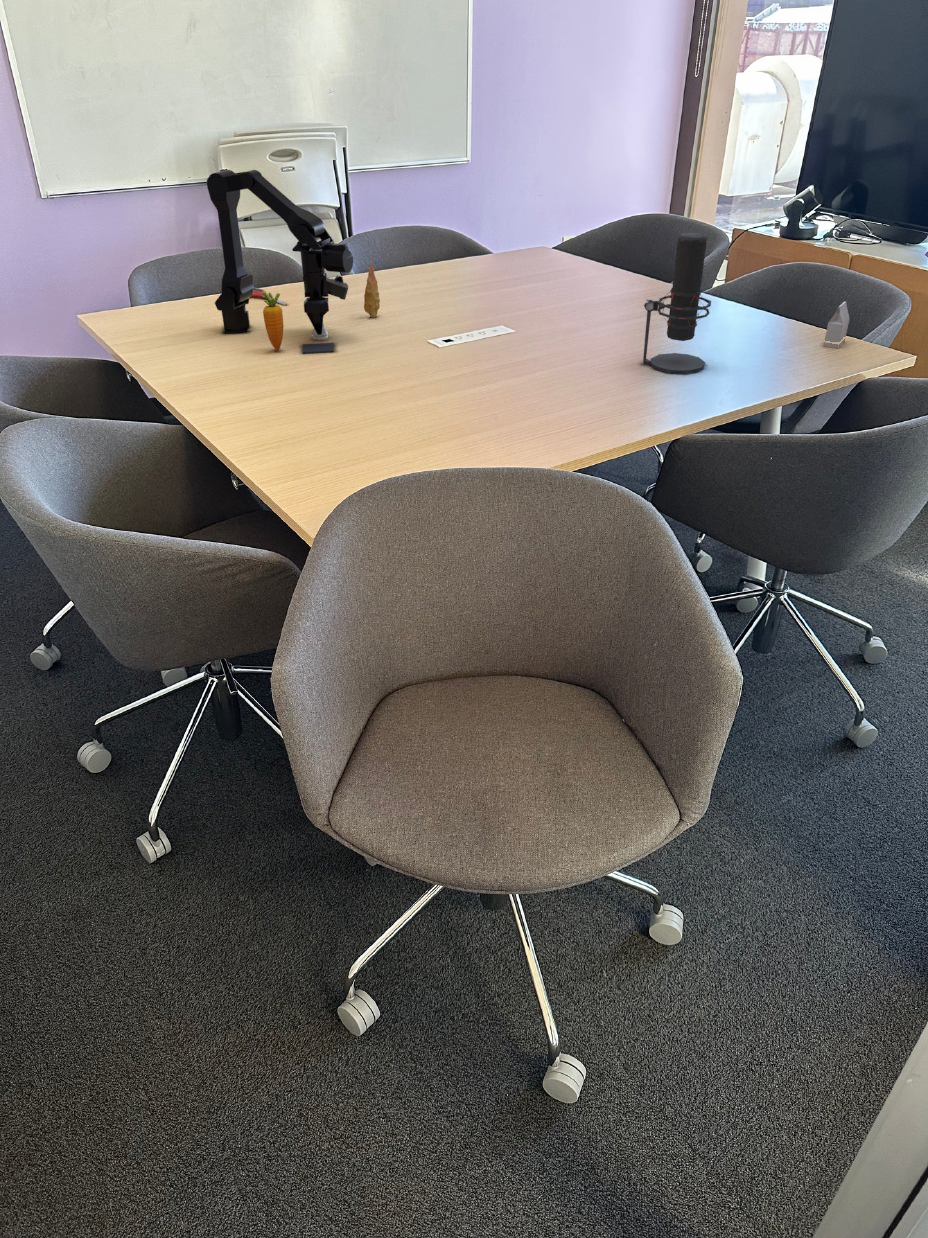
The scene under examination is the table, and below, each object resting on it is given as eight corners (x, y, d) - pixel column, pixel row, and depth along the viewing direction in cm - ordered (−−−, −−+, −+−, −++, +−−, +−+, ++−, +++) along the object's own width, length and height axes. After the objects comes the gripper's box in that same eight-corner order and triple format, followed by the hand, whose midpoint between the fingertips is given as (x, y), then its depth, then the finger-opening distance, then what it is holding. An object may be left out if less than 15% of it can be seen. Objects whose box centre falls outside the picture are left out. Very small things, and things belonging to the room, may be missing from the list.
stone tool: (369, 320, 256) (366, 264, 248) (364, 318, 257) (360, 263, 249) (382, 316, 259) (378, 261, 251) (376, 314, 261) (372, 260, 252)
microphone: (668, 378, 213) (684, 243, 196) (634, 362, 222) (646, 232, 206) (716, 368, 218) (735, 236, 201) (680, 353, 228) (696, 226, 211)
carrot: (290, 348, 235) (283, 289, 226) (281, 354, 231) (274, 294, 222) (273, 347, 236) (266, 287, 228) (264, 352, 232) (256, 292, 224)
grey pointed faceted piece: (844, 341, 235) (853, 302, 229) (838, 348, 230) (846, 308, 224) (830, 339, 236) (838, 300, 231) (823, 346, 232) (831, 306, 226)
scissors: (285, 305, 270) (284, 300, 269) (234, 296, 279) (233, 291, 279) (302, 299, 275) (301, 294, 275) (251, 291, 285) (251, 286, 284)
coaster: (302, 353, 231) (302, 352, 231) (303, 345, 237) (303, 344, 237) (334, 352, 232) (333, 350, 232) (333, 344, 238) (333, 342, 238)
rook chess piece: (331, 337, 243) (329, 306, 238) (323, 341, 239) (320, 311, 235) (317, 335, 244) (314, 305, 240) (308, 339, 241) (305, 309, 237)
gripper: (345, 277, 225) (350, 339, 234) (344, 260, 241) (349, 319, 249) (300, 279, 224) (307, 341, 233) (302, 262, 239) (308, 321, 248)
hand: (319, 330), depth 241 cm, fingers open, 6 cm apart
